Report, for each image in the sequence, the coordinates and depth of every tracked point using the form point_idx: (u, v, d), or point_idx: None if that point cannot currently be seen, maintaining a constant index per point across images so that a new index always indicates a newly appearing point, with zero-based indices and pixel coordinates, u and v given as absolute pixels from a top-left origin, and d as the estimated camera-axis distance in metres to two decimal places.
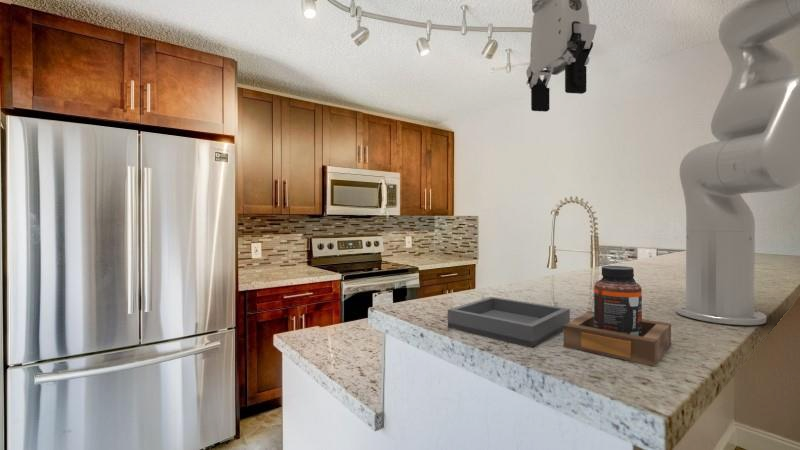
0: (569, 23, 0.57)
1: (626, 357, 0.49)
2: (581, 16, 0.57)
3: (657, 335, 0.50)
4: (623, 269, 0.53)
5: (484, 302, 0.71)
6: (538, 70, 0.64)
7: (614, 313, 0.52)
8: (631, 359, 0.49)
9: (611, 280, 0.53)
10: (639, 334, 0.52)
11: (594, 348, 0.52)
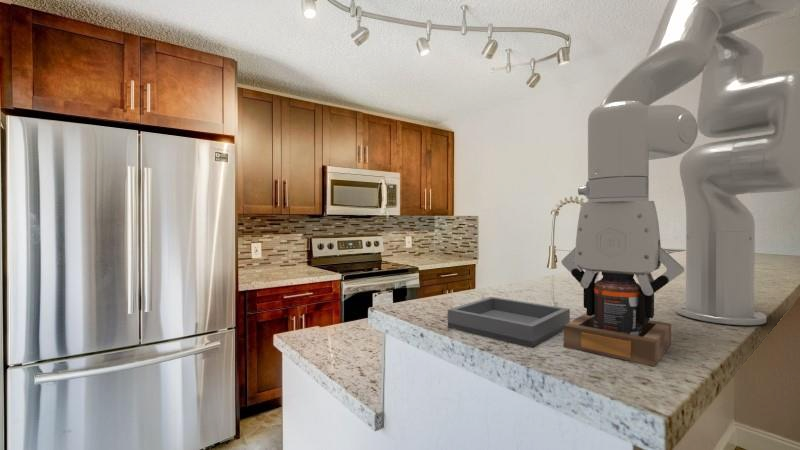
0: None
1: (626, 357, 0.49)
2: None
3: (657, 335, 0.50)
4: None
5: (484, 302, 0.71)
6: None
7: (614, 313, 0.52)
8: (631, 359, 0.49)
9: (611, 280, 0.53)
10: (639, 334, 0.52)
11: (594, 348, 0.52)
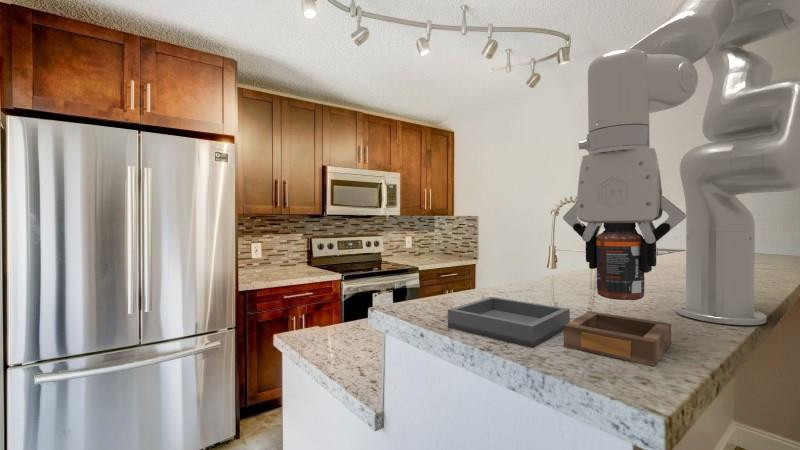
0: None
1: (626, 357, 0.49)
2: None
3: (657, 335, 0.50)
4: None
5: (484, 302, 0.71)
6: None
7: (616, 263, 0.52)
8: (631, 359, 0.49)
9: (613, 231, 0.53)
10: (642, 283, 0.52)
11: (594, 348, 0.52)
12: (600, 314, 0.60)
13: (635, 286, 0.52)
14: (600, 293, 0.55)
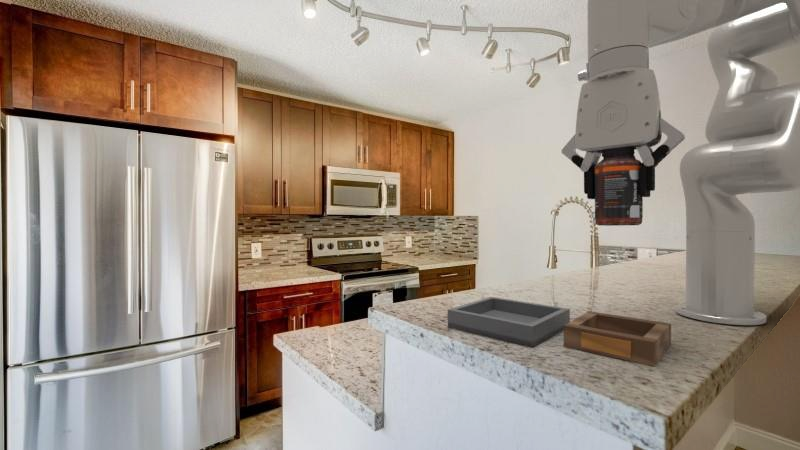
0: None
1: (626, 357, 0.49)
2: None
3: (657, 335, 0.50)
4: None
5: (484, 302, 0.71)
6: None
7: (615, 187, 0.52)
8: (631, 359, 0.49)
9: (612, 156, 0.53)
10: (640, 208, 0.52)
11: (594, 348, 0.52)
12: (600, 314, 0.60)
13: (633, 210, 0.52)
14: (598, 221, 0.54)
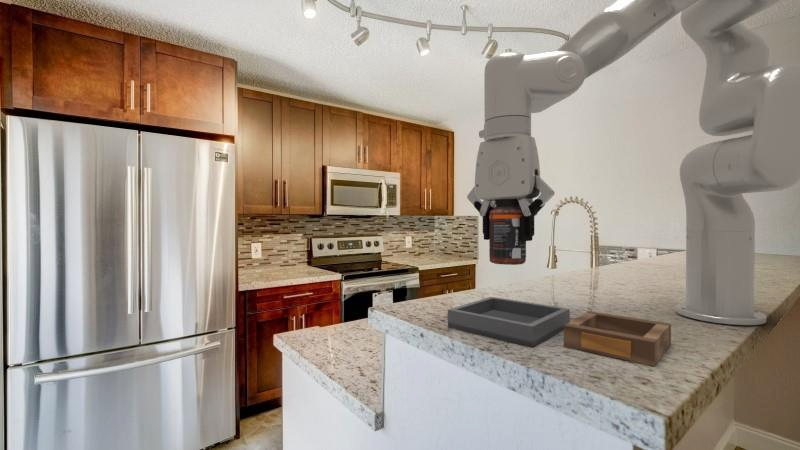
0: None
1: (626, 357, 0.49)
2: None
3: (657, 335, 0.50)
4: None
5: (484, 302, 0.71)
6: None
7: (500, 232, 0.62)
8: (631, 359, 0.49)
9: (500, 206, 0.63)
10: (521, 250, 0.62)
11: (594, 348, 0.52)
12: (600, 314, 0.60)
13: (515, 252, 0.61)
14: (490, 259, 0.64)
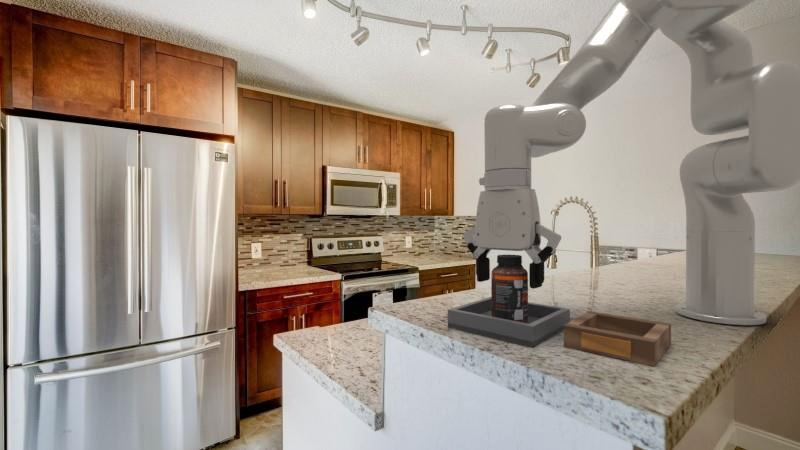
0: None
1: (626, 357, 0.49)
2: None
3: (657, 335, 0.50)
4: (511, 257, 0.63)
5: (484, 302, 0.71)
6: None
7: (502, 294, 0.62)
8: (631, 359, 0.49)
9: (502, 266, 0.63)
10: (524, 311, 0.62)
11: (594, 348, 0.52)
12: (600, 314, 0.60)
13: (517, 314, 0.62)
14: None
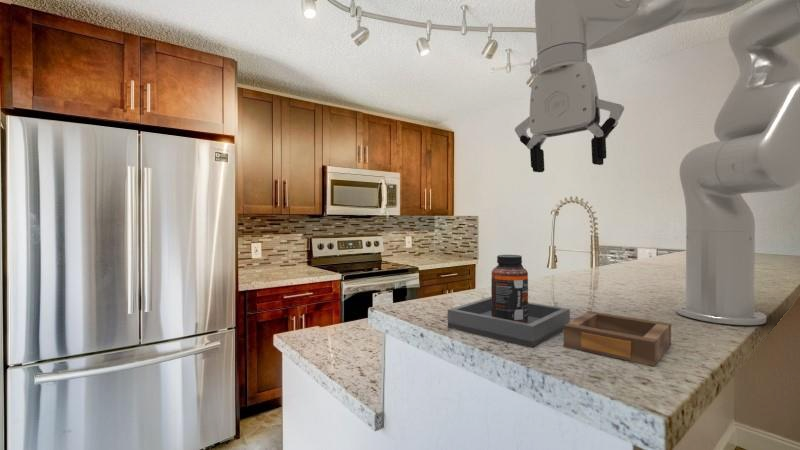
0: None
1: (626, 357, 0.49)
2: None
3: (657, 335, 0.50)
4: (511, 257, 0.63)
5: (484, 302, 0.71)
6: None
7: (502, 294, 0.62)
8: (631, 359, 0.49)
9: (502, 266, 0.63)
10: (524, 311, 0.62)
11: (594, 348, 0.52)
12: (600, 314, 0.60)
13: (517, 314, 0.62)
14: None
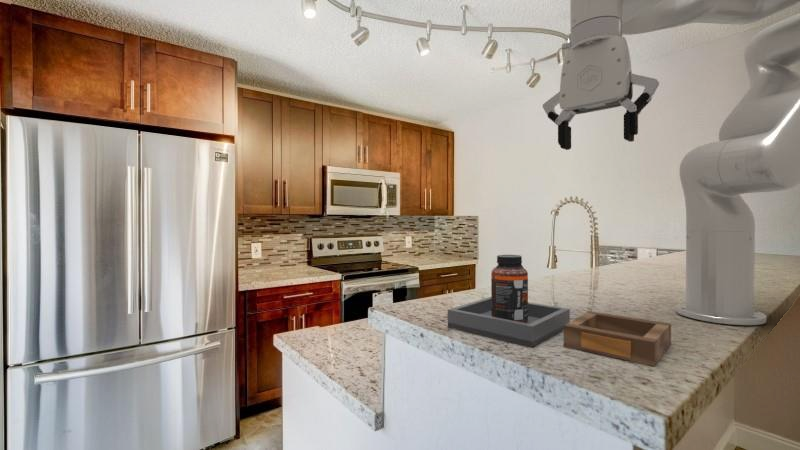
0: None
1: (626, 357, 0.49)
2: None
3: (657, 335, 0.50)
4: (511, 257, 0.63)
5: (484, 302, 0.71)
6: (616, 106, 0.62)
7: (502, 294, 0.62)
8: (631, 359, 0.49)
9: (502, 266, 0.63)
10: (524, 311, 0.62)
11: (594, 348, 0.52)
12: (600, 314, 0.60)
13: (517, 314, 0.62)
14: None
